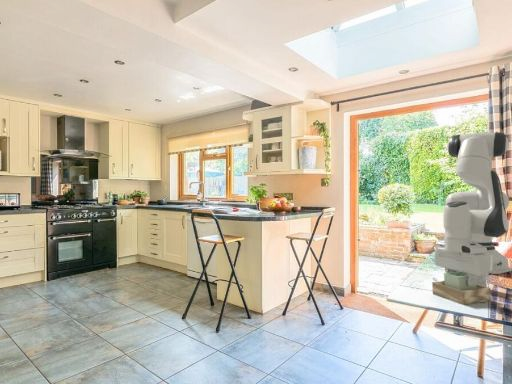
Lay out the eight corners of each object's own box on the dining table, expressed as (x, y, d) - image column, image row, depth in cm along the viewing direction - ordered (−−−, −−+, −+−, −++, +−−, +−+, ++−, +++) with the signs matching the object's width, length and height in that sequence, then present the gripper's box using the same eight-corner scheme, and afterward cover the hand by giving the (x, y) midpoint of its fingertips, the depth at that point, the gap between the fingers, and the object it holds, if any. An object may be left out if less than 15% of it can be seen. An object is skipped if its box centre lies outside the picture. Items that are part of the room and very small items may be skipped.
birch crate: (458, 290, 123) (457, 278, 124) (490, 300, 111) (490, 287, 111) (432, 293, 120) (432, 282, 120) (463, 304, 108) (462, 291, 108)
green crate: (461, 284, 119) (461, 271, 119) (476, 288, 114) (475, 274, 114) (444, 286, 117) (444, 273, 117) (458, 290, 111) (458, 276, 112)
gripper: (429, 242, 125) (430, 277, 125) (477, 250, 105) (479, 291, 105) (441, 241, 127) (443, 275, 126) (491, 248, 107) (493, 289, 107)
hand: (460, 282), depth 115 cm, fingers closed on green crate, 6 cm apart
